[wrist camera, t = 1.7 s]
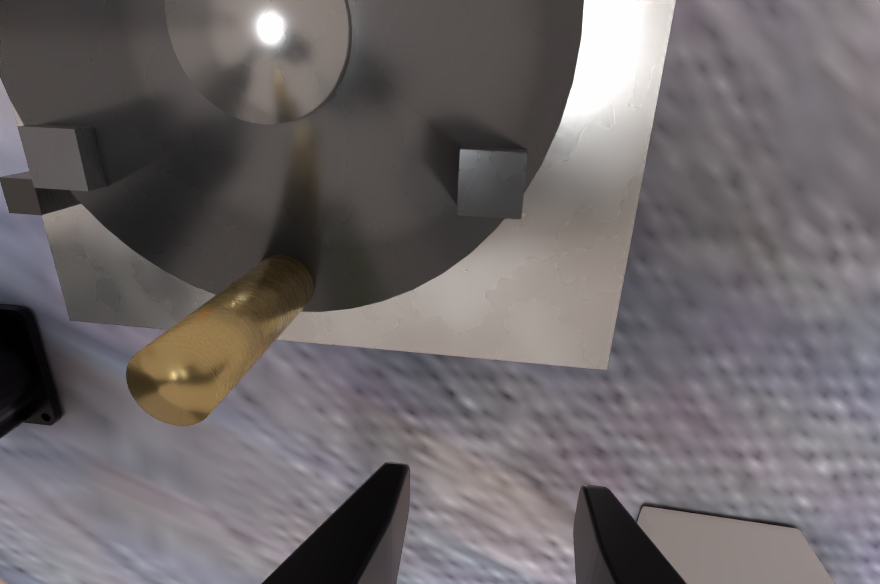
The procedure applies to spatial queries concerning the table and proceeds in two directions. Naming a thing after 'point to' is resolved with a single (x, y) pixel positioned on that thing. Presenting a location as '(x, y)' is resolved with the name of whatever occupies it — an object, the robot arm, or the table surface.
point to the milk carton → (731, 549)
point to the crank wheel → (285, 149)
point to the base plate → (477, 275)
